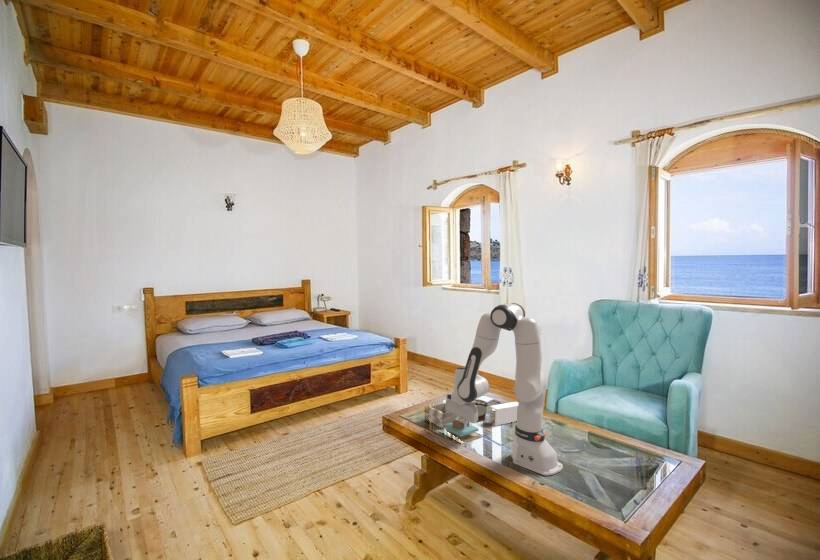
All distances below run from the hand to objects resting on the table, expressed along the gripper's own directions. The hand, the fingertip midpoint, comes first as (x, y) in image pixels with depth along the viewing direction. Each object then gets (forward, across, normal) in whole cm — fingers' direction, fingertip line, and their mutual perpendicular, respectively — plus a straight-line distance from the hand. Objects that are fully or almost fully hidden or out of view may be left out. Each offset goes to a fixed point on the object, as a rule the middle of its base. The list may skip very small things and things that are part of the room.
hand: (460, 425), depth 202 cm
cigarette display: (+6, -1, -33) cm, 34 cm away
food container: (+5, +11, -23) cm, 26 cm away
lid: (+3, 0, 0) cm, 3 cm away
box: (+5, +16, -3) cm, 17 cm away
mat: (+5, 0, 0) cm, 5 cm away
